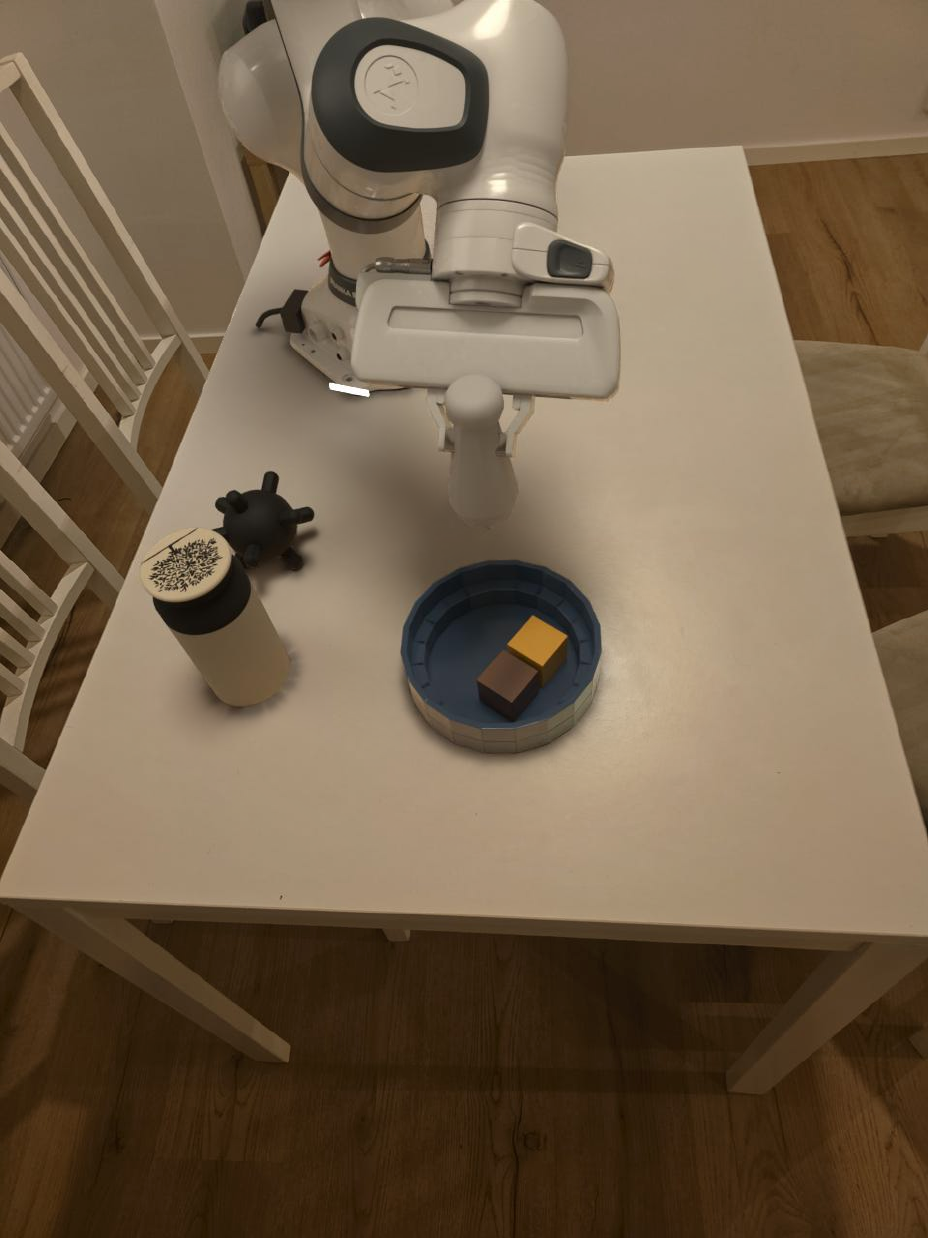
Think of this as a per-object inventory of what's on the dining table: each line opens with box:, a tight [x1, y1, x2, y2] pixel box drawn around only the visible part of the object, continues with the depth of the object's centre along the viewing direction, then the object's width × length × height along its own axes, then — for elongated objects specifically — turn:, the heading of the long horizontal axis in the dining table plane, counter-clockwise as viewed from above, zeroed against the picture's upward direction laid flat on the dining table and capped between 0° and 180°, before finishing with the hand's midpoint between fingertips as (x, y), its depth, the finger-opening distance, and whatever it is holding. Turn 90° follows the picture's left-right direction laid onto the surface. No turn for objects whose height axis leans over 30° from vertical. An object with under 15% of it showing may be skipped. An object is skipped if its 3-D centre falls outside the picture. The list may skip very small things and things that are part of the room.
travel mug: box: [139, 527, 291, 708], centre depth 73 cm, size 8×8×18 cm
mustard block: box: [507, 615, 568, 687], centre depth 76 cm, size 4×4×4 cm
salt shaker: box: [444, 375, 520, 530], centre depth 63 cm, size 6×6×13 cm
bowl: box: [400, 559, 603, 754], centre depth 76 cm, size 18×18×6 cm
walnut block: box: [477, 649, 539, 722], centre depth 74 cm, size 4×4×4 cm
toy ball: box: [210, 470, 315, 570], centre depth 85 cm, size 11×11×12 cm
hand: (476, 454), depth 62 cm, fingers closed on salt shaker, 3 cm apart
